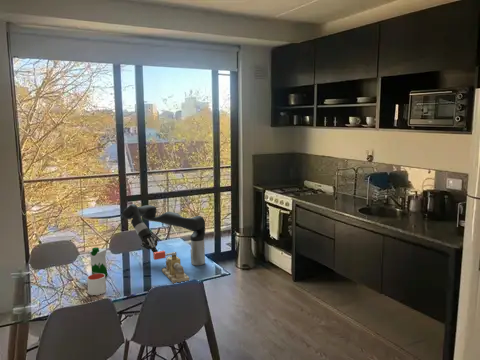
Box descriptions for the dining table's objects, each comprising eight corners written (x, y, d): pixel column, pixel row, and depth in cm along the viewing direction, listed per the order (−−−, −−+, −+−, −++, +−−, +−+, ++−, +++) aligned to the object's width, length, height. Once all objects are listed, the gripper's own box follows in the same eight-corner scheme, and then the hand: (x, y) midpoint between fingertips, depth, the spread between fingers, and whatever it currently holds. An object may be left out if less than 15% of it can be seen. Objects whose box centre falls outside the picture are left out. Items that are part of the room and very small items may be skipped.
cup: (91, 289, 247) (89, 273, 245) (108, 288, 248) (106, 272, 246) (86, 296, 237) (84, 280, 235) (104, 295, 238) (102, 279, 236)
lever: (153, 258, 258) (152, 252, 258) (175, 254, 265) (175, 248, 265) (154, 260, 256) (154, 253, 255) (177, 255, 262) (176, 249, 262)
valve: (161, 271, 273) (160, 251, 271) (176, 268, 278) (175, 249, 276) (173, 283, 252) (172, 262, 250) (189, 280, 257) (188, 259, 255)
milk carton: (89, 279, 264) (87, 249, 261) (98, 274, 272) (96, 244, 269) (101, 280, 261) (98, 250, 258) (110, 275, 269) (107, 245, 266)
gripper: (148, 232, 273) (161, 253, 267) (132, 237, 263) (145, 259, 257) (153, 225, 269) (166, 247, 263) (136, 230, 259) (150, 252, 253)
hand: (156, 253), depth 260 cm, fingers closed
